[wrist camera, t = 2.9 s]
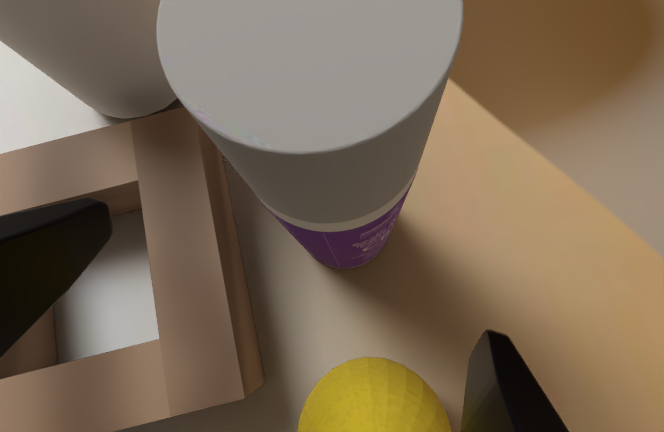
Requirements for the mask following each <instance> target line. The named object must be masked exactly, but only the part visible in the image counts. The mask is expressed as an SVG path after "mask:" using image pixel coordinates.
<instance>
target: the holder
mask: <svg viewBox="0 0 664 432" xmlns="http://www.w3.org/2000/svg"><path fill="white" fill-rule="evenodd" d="M87 197H91V198H95V199H98V200H101V201H104V202H105V203H107V205H108V207H109V211H110V217H111V216H115V215H119V214H123V213H127V212H131V211H135V210H139V209H142V212H143V220H144V227H145V234H146V242H147V249H148V257H149V264H150V271H151V279H152V286H153V293H154V301H155V308H156V316H157V323H158V330H159V338H160V339H158V340H154V341H150V342H146V343H142V344H138V345H134V346H130V347H126V348H122V349H118V350H114V351H110V352H106V353H102V354H98V355H94V356H90V357H87V358H83V359H79V360H75V361H71V362H67V363H63V364H59V365H58V364H57V351H56V338H55V325H54V312H53V306H52V307H51V308H50V309H49V310H48V311H47V312H46V313H45V314H44V315H43V316H42V317H41V318H40V319H39V320H38V321H37V322H36V323H35V324H34V325H33V326H32V327H31V328H30V329H29V330H28V331H27V332H26V333H25V334H24V335H23V336H22V337H21V338H20V339H19V340H18V341H17V342H16V343H15V344H14V345H13V346H12V347H11V348H10V349H9V350H8V351H7V352H6V353H5V354H4V355H3V356H2V357H1V358H0V432H114V431H118V430H122V429H126V428H130V427H134V426H138V425H142V424H146V423H150V422H154V421H158V420H162V419H165V418H169V417H173V416H177V415H181V414H185V413H189V412H193V411H197V410H201V409H205V408H209V407H213V406H217V405H221V404H225V403H229V402H233V401H237V400H241V399H245V398H246V397H247V396H249V395H250V394H251V393H252V392H254V391H255V390H256V389H257V388H259V387H260V386H261V385H262V384H264V383H265V382H266V381H265V376H264V371H263V366H262V360H261V355H260V350H259V345H258V340H257V334H256V329H255V324H254V319H253V314H252V308H251V303H250V298H249V293H248V287H247V282H246V277H245V272H244V267H243V261H242V256H241V251H240V246H239V241H238V235H237V230H236V225H235V220H234V214H233V209H232V204H231V199H230V194H229V188H228V183H227V178H226V173H225V168H224V162H223V157H222V152H221V151H220V150H219V149H218V147H217V146H216V145H215V144H214V142H213V141H212V140H211V139H210V138H209V136H208V135H207V134H206V133H205V131H204V130H203V129H202V128H201V126H200V125H199V124H198V123H197V121H196V120H195V119H194V118H193V117H192V115H191V114H190V113H189V112H188V110H187V109H186V108H185V107H181V108H177V109H173V110H169V111H165V112H161V113H157V114H154V115H150V116H146V117H142V118H138V119H134V120H130V121H127V122H123V123H119V124H115V125H111V126H107V127H103V128H100V129H96V130H92V131H88V132H84V133H80V134H76V135H73V136H69V137H65V138H61V139H57V140H53V141H49V142H45V143H42V144H38V145H34V146H30V147H26V148H22V149H18V150H15V151H11V152H7V153H3V154H0V216H2V215H7V214H11V213H16V212H21V211H26V210H30V209H35V208H40V207H44V206H49V205H54V204H58V203H63V202H68V201H72V200H77V199H82V198H87Z"/></svg>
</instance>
